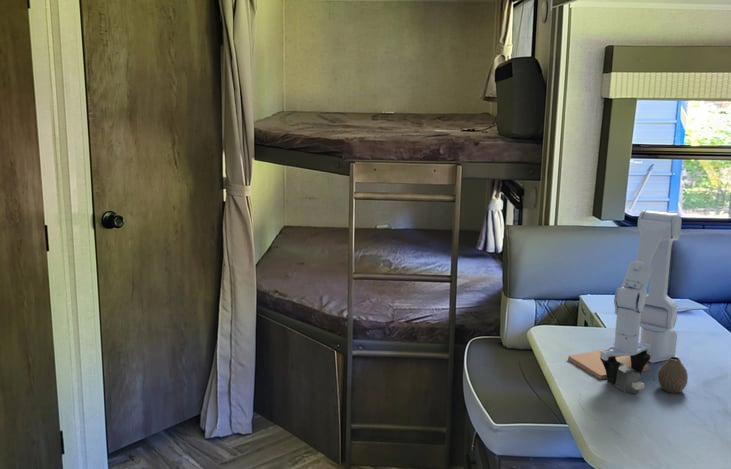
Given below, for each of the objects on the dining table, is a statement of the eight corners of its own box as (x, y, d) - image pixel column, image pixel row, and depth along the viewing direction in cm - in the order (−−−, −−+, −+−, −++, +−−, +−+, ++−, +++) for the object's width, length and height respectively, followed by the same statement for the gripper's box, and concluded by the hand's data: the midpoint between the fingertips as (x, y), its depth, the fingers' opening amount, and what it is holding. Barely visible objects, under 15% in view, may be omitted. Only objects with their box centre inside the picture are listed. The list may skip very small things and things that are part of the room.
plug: (615, 377, 178) (617, 360, 176) (645, 394, 168) (646, 376, 166) (604, 379, 176) (606, 362, 175) (633, 397, 166) (635, 378, 165)
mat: (613, 351, 194) (613, 347, 194) (648, 370, 181) (648, 366, 181) (568, 359, 189) (568, 355, 189) (600, 379, 176) (601, 375, 176)
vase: (674, 398, 166) (677, 366, 164) (651, 387, 172) (654, 356, 170) (692, 392, 169) (695, 360, 167) (669, 381, 175) (672, 350, 173)
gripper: (638, 323, 175) (634, 370, 178) (593, 330, 170) (590, 378, 174) (658, 332, 169) (653, 380, 172) (612, 340, 164) (608, 390, 167)
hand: (623, 380), depth 172 cm, fingers open, 7 cm apart
